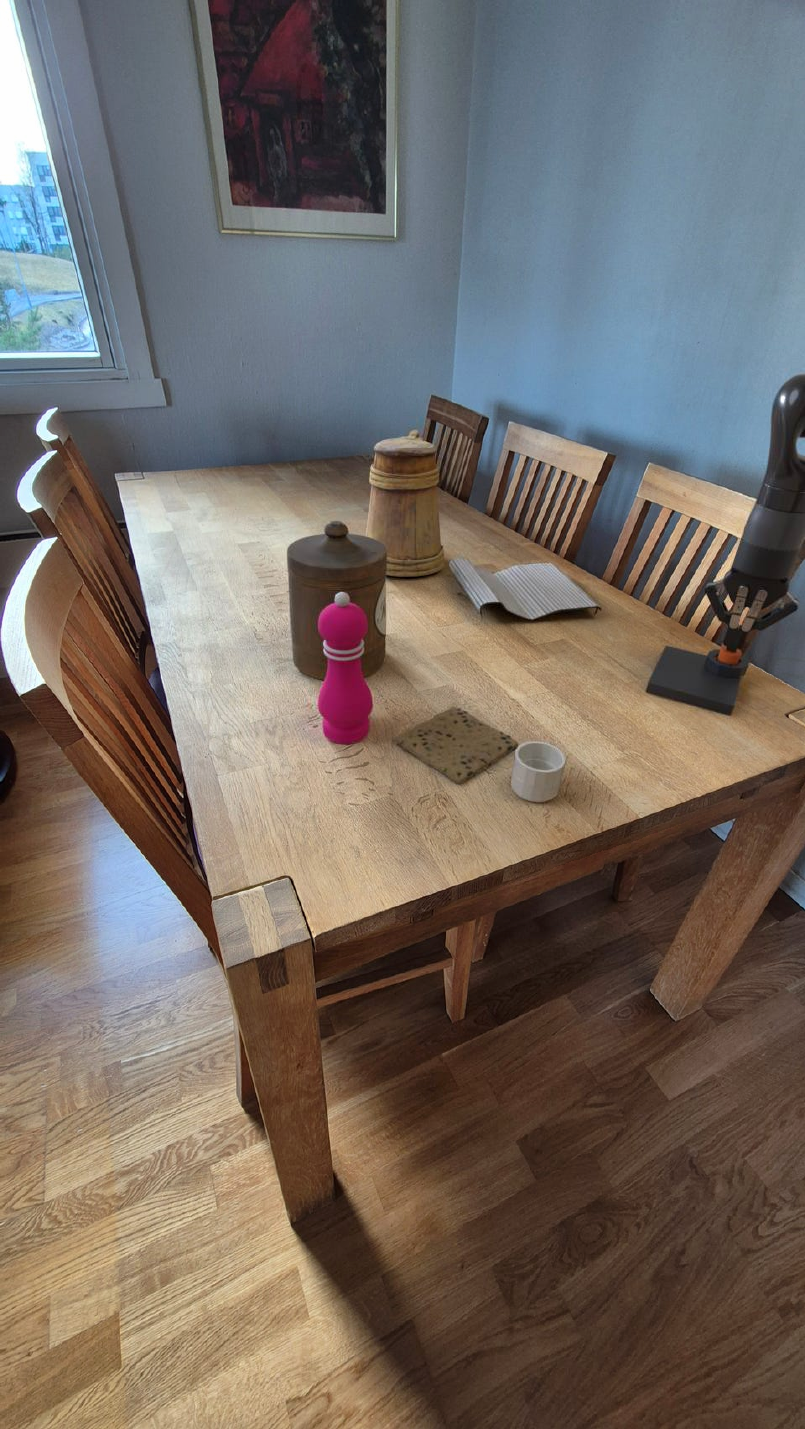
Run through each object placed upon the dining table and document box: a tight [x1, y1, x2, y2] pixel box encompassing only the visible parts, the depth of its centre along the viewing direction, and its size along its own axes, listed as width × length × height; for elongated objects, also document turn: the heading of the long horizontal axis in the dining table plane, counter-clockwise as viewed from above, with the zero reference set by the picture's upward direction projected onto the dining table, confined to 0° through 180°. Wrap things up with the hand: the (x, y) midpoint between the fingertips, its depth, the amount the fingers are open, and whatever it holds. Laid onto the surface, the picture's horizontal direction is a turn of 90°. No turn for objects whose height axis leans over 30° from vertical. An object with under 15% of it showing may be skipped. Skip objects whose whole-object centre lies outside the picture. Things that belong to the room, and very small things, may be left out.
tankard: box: [365, 429, 445, 578], centre depth 131 cm, size 18×24×25 cm
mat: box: [448, 556, 603, 624], centre depth 122 cm, size 23×24×5 cm
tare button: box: [718, 646, 743, 664], centre depth 97 cm, size 3×3×2 cm
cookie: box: [393, 706, 519, 785], centre depth 82 cm, size 12×12×1 cm
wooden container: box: [286, 520, 387, 681], centre depth 95 cm, size 15×15×22 cm
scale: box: [645, 645, 750, 716], centre depth 96 cm, size 12×14×4 cm
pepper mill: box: [317, 592, 374, 745], centre depth 79 cm, size 7×7×20 cm
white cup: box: [509, 740, 567, 803], centre depth 74 cm, size 6×6×5 cm
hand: (731, 649), depth 96 cm, fingers closed
